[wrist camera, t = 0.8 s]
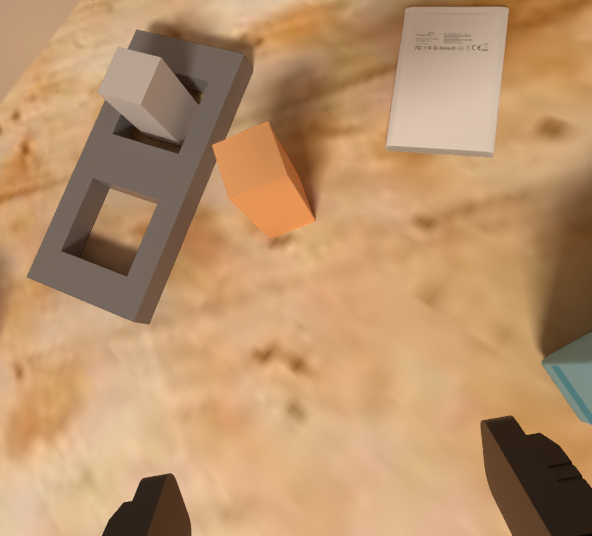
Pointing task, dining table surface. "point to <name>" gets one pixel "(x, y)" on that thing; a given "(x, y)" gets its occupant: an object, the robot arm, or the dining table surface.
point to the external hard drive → (448, 81)
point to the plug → (263, 180)
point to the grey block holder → (144, 166)
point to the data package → (574, 375)
